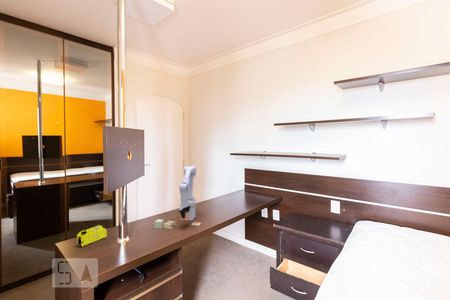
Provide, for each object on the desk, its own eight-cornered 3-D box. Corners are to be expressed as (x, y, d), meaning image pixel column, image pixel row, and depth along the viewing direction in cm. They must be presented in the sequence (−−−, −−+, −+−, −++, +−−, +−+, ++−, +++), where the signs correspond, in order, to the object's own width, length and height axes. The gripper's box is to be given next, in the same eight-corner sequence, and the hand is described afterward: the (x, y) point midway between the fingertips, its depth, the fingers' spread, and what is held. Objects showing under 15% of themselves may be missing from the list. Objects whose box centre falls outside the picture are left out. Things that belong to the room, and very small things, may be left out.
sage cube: (157, 225, 168) (157, 219, 168) (163, 225, 168) (163, 219, 167) (154, 228, 163) (154, 221, 163) (161, 228, 163) (161, 221, 162)
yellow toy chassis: (102, 236, 151) (101, 224, 150) (107, 237, 148) (106, 225, 148) (77, 245, 137) (76, 232, 137) (81, 247, 134) (81, 234, 134)
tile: (194, 222, 173) (193, 221, 173) (201, 223, 171) (201, 222, 171) (191, 224, 168) (191, 224, 168) (198, 225, 167) (198, 224, 167)
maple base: (168, 225, 169) (168, 220, 169) (175, 226, 167) (175, 221, 167) (163, 228, 163) (163, 223, 163) (170, 229, 161) (170, 224, 161)
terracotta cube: (183, 217, 169) (183, 211, 169) (189, 218, 167) (189, 211, 167) (180, 220, 164) (180, 213, 164) (186, 220, 163) (186, 213, 163)
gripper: (184, 196, 173) (184, 213, 174) (175, 201, 159) (175, 219, 160) (192, 197, 171) (192, 214, 172) (183, 202, 157) (184, 220, 158)
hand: (184, 216), depth 166 cm, fingers closed on terracotta cube, 5 cm apart
